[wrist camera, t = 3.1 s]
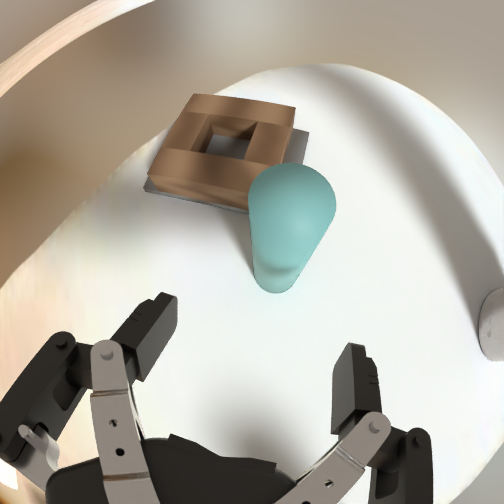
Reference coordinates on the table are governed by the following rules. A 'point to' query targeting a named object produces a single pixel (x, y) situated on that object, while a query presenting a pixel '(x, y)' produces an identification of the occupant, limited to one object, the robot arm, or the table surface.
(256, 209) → the peg
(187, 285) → the table surface
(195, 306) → the table surface
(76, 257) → the table surface
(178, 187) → the socket
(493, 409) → the table surface
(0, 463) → the white toy figurine
